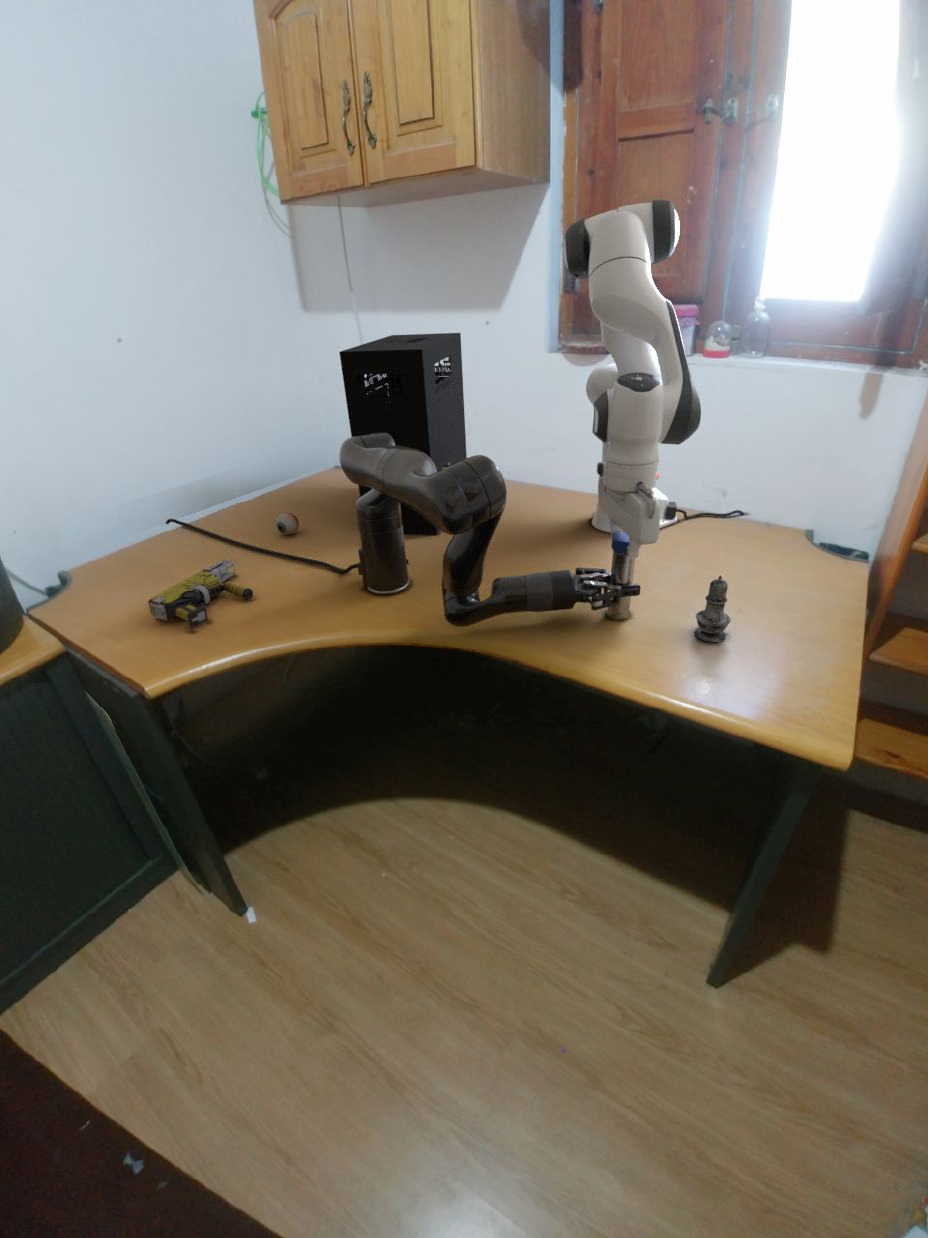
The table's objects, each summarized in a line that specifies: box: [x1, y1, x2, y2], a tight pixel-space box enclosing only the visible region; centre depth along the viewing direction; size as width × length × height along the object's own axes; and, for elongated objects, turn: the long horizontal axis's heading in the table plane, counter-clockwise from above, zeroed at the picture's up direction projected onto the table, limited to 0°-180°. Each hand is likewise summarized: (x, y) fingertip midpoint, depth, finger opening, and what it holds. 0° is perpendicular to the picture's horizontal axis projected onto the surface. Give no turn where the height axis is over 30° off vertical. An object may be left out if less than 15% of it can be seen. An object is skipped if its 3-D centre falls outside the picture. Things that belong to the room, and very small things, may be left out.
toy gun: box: [148, 558, 254, 629], centre depth 131 cm, size 5×24×15 cm
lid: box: [610, 532, 630, 553], centre depth 111 cm, size 5×5×2 cm
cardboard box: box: [339, 332, 468, 535], centre depth 166 cm, size 38×20×45 cm, turn 167°
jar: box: [606, 549, 636, 621], centre depth 115 cm, size 4×4×16 cm
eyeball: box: [275, 511, 300, 536], centre depth 163 cm, size 6×6×6 cm
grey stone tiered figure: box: [694, 575, 731, 643], centre depth 107 cm, size 6×6×12 cm
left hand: (634, 583), depth 115 cm, fingers closed on jar, 4 cm apart
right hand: (623, 548), depth 112 cm, fingers open, 6 cm apart
